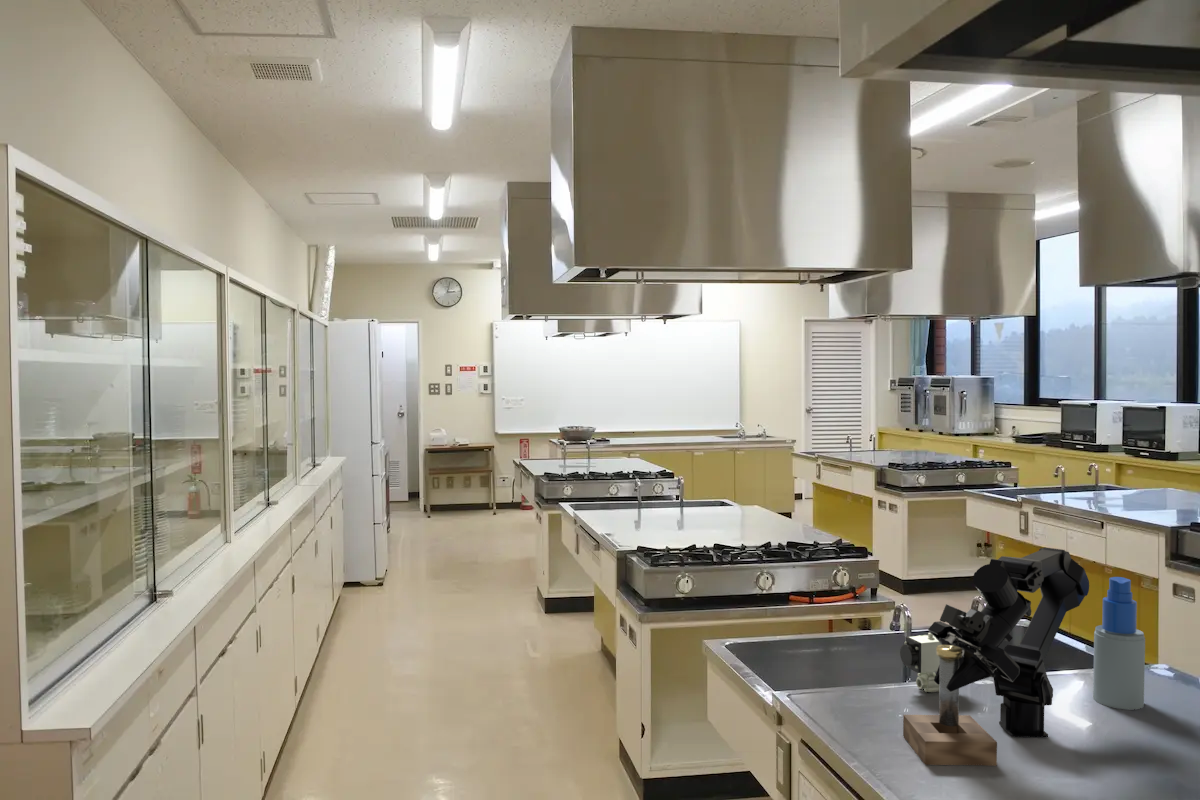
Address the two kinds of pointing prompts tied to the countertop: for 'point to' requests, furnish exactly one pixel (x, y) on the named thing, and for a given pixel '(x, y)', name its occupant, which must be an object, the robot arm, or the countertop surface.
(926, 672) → the pneumatic valve
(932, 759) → the socket block
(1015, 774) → the countertop surface
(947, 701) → the steel pin
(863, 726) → the countertop surface
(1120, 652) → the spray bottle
